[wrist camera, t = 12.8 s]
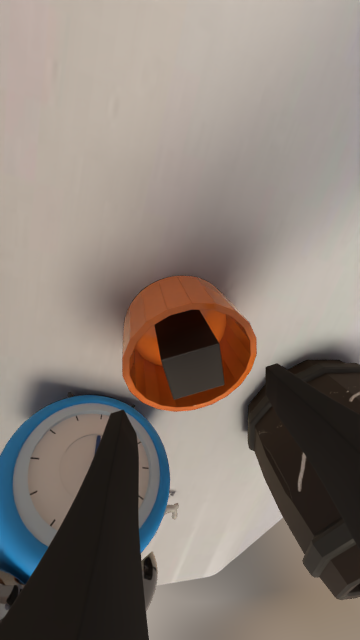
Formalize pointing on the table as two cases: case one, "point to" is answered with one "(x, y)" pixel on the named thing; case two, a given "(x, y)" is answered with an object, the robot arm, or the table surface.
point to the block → (189, 354)
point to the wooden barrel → (309, 478)
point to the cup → (143, 349)
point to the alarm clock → (68, 484)
